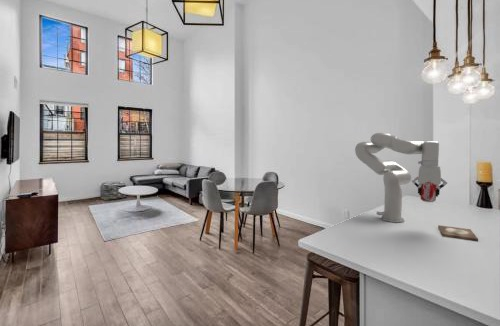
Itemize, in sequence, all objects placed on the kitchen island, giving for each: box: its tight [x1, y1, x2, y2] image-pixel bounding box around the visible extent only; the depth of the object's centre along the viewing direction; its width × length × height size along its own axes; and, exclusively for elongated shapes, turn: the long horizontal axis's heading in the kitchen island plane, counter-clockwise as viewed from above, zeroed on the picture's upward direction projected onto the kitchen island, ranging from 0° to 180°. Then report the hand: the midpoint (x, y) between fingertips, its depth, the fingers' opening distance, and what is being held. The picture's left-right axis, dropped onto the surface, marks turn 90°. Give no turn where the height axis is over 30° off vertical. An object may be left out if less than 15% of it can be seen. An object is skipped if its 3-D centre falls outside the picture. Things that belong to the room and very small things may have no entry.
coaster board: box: [437, 224, 479, 242], centre depth 132 cm, size 14×16×1 cm
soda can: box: [420, 182, 437, 203], centre depth 137 cm, size 7×7×12 cm
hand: (428, 195), depth 137 cm, fingers closed on soda can, 7 cm apart
